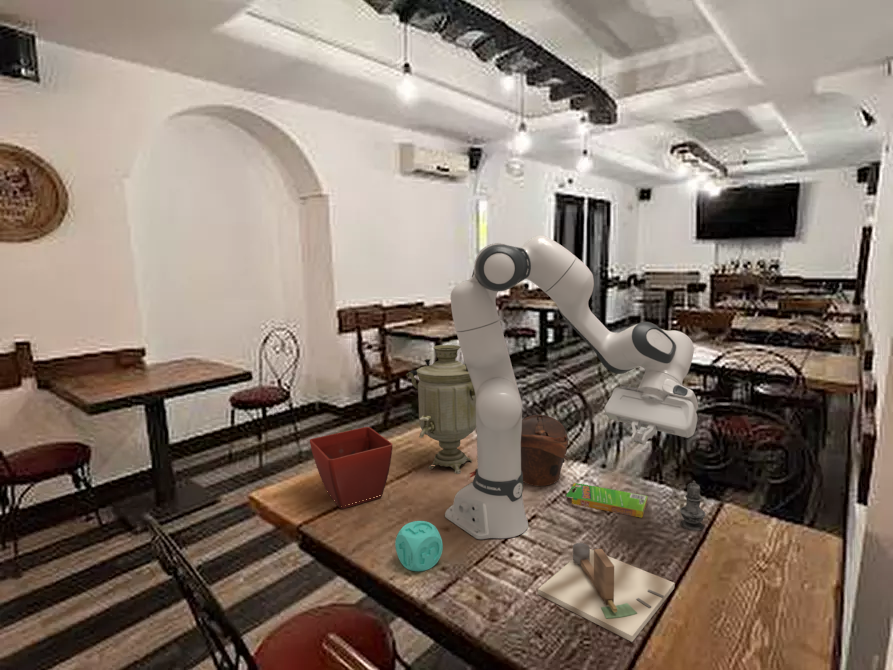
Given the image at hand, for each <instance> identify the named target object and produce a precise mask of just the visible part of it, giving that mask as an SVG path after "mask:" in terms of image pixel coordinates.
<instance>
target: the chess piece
mask: <svg viewBox="0 0 893 670" xmlns="http://www.w3.org/2000/svg"><path fill="white" fill-rule="evenodd" d="M686 491H687V493H686V495H685V498H686V500H685V501H686V504H685V506H682V507H680V509H679V512H680V514H681V517H682V519H683V520H681V521H680V525H681V526H682V527H683V528H685V529H687V530H689V531H702V530H703V529H704V528H705V527H704V523H702V522H703V521H704V519H705V517H706V515H707V514H706V512H705V510H703V509H701V506H700V505H701V504H700V503H701V500H702V497H701V486H700V485H699V484H698V483H696V481H695V480H692V481H691V482H690V483H688V484H687V489H686Z"/></svg>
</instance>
